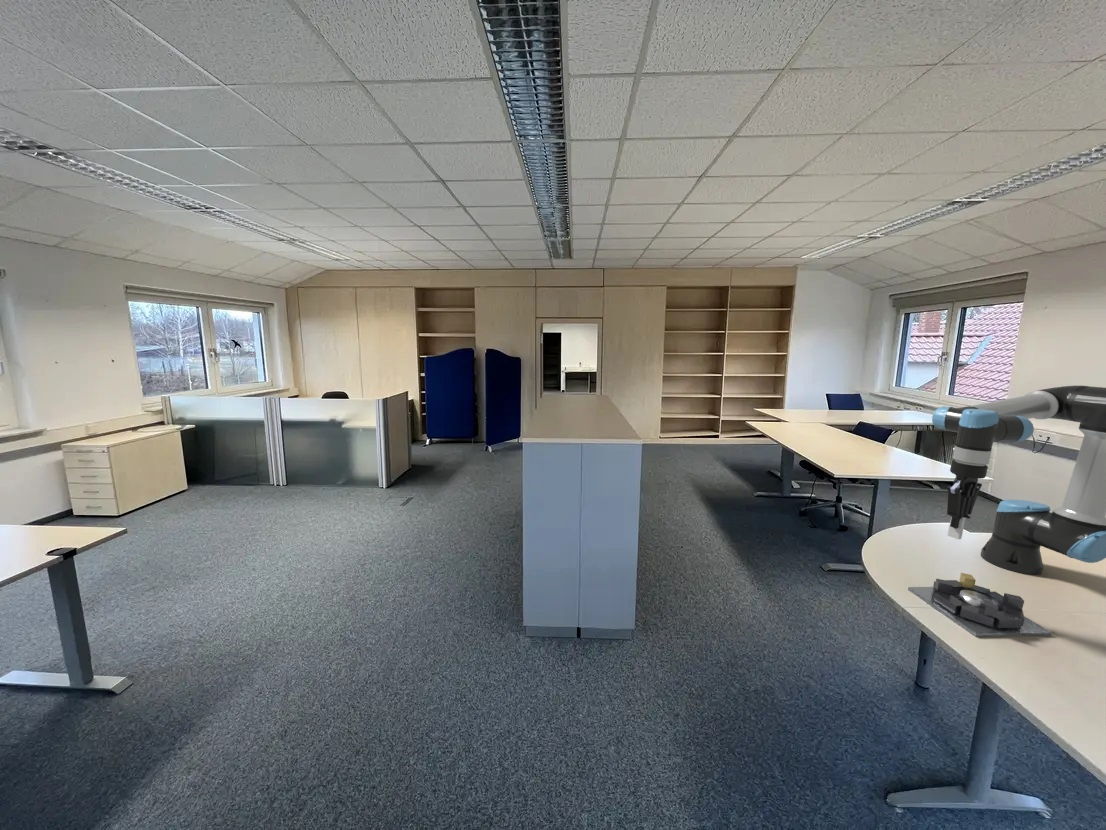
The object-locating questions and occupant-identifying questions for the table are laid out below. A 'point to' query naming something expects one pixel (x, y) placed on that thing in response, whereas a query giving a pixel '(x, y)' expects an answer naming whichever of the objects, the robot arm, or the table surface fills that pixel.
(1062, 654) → the table surface
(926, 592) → the base plate
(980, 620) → the octagonal block ring
